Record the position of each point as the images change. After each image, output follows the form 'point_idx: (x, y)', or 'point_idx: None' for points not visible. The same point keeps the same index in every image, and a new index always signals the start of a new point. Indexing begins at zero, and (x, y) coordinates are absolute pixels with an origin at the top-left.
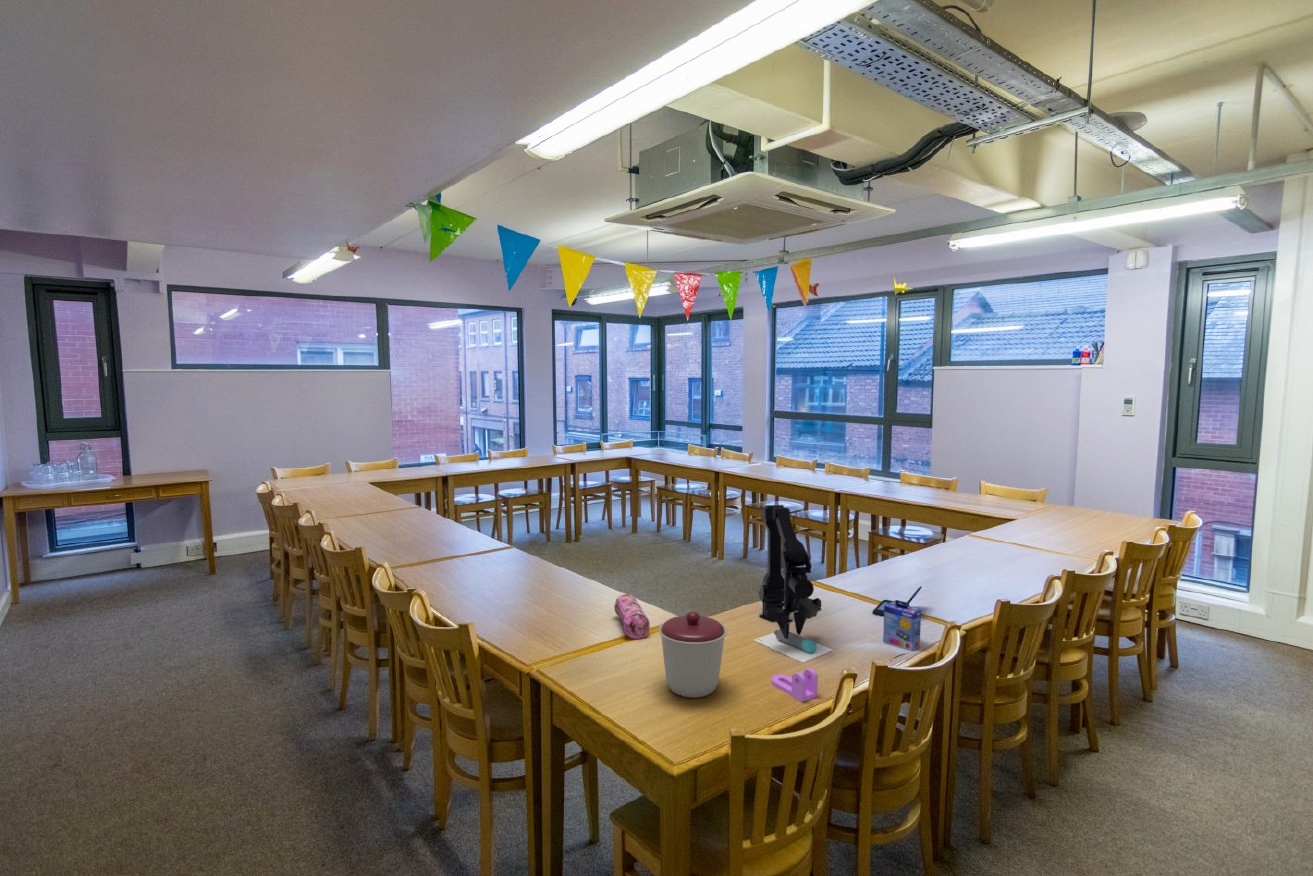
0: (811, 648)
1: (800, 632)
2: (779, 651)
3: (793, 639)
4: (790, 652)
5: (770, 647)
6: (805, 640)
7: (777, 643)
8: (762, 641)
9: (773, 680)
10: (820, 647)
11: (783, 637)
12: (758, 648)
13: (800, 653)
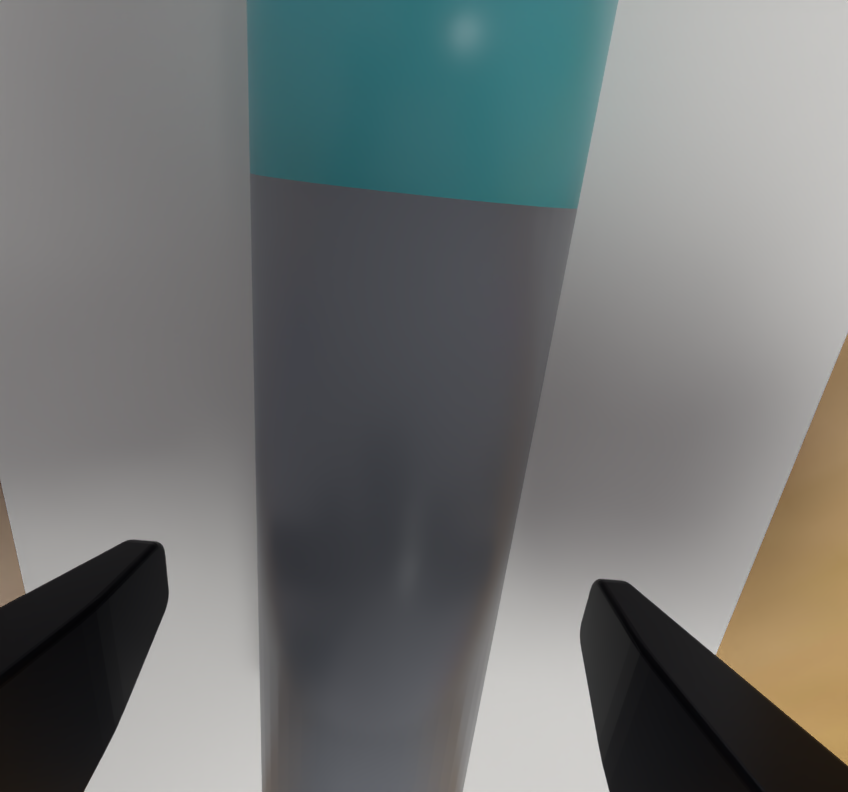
0: None
1: (112, 566)
2: (784, 473)
3: (514, 487)
4: (712, 324)
5: (718, 630)
6: (513, 106)
7: (517, 640)
8: (599, 775)
9: None
10: (16, 2)
11: (483, 675)
12: (803, 705)
13: (634, 151)
